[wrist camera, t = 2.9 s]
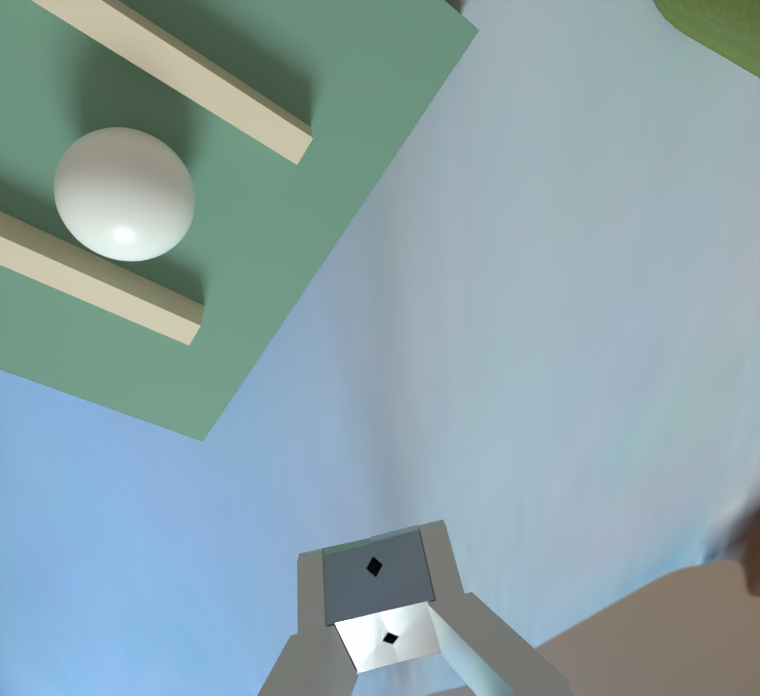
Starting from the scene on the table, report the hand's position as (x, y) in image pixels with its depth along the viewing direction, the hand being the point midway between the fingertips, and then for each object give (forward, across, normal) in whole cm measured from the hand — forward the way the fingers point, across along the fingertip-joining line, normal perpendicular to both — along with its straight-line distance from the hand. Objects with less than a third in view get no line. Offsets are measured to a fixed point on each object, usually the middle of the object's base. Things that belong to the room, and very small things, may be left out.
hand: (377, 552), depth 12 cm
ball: (+11, +6, -5) cm, 13 cm away
